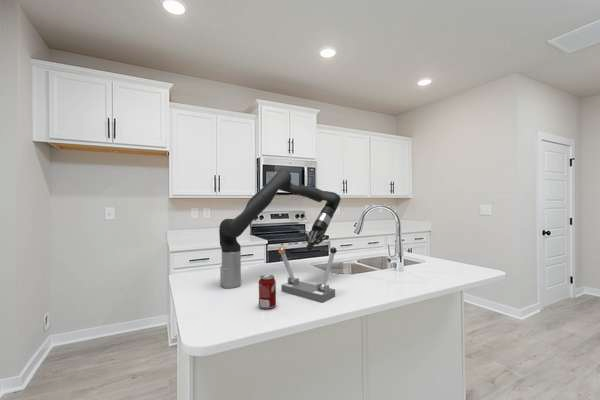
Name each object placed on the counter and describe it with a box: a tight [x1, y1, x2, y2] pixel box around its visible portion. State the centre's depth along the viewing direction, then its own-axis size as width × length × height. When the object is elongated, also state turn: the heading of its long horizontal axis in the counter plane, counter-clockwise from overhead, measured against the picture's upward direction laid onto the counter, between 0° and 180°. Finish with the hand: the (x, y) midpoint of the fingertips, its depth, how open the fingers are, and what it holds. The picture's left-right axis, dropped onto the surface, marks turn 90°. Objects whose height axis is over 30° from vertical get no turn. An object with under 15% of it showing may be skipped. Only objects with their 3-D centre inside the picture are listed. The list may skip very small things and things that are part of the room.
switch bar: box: [281, 276, 336, 304], centre depth 127 cm, size 10×23×6 cm, turn 51°
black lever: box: [319, 246, 338, 291], centre depth 125 cm, size 3×3×20 cm
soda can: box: [258, 274, 277, 310], centre depth 112 cm, size 7×7×12 cm
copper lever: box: [277, 247, 296, 283], centre depth 129 cm, size 3×3×20 cm
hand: (308, 249), depth 141 cm, fingers closed
